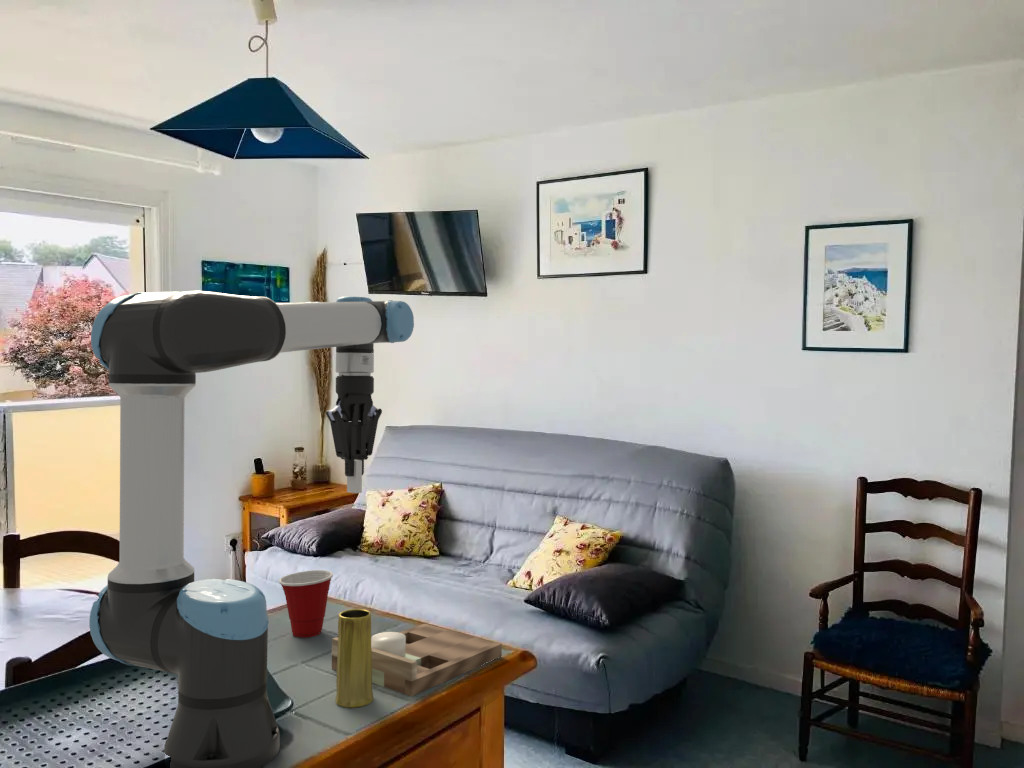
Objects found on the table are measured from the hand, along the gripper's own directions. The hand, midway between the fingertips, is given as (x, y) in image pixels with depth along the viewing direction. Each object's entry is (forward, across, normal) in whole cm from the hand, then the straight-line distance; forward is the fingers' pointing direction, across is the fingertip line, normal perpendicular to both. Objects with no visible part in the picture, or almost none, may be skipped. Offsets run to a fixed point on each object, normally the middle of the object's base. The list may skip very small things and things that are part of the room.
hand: (354, 492), depth 163 cm
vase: (+30, -21, -24) cm, 44 cm away
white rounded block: (+27, -9, -20) cm, 35 cm away
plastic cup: (+30, -4, +10) cm, 32 cm away
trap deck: (+29, -2, -20) cm, 36 cm away
